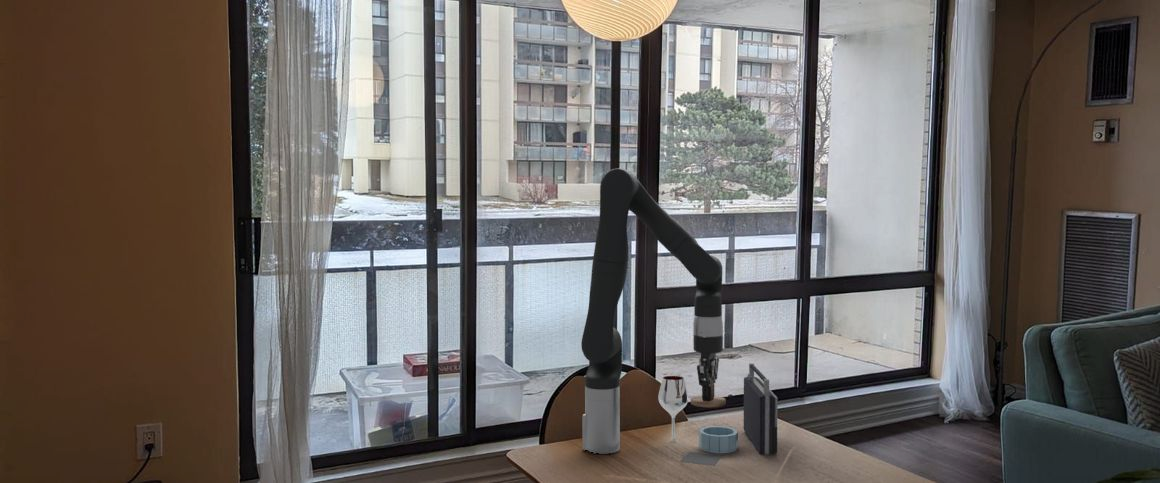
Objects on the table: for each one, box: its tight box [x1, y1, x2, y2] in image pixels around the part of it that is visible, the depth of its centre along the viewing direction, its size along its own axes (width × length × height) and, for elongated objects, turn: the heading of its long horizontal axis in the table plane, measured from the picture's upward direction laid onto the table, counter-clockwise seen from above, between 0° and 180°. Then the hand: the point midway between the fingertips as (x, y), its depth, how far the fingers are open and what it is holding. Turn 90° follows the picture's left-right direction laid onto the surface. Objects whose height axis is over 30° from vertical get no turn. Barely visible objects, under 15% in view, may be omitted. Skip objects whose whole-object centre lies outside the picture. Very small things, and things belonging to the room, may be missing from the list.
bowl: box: [698, 425, 739, 454], centre depth 227 cm, size 10×10×5 cm
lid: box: [690, 379, 727, 408], centre depth 220 cm, size 9×9×6 cm
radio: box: [743, 362, 778, 455], centre depth 233 cm, size 24×5×20 cm, turn 179°
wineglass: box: [657, 375, 689, 443], centre depth 233 cm, size 8×8×18 cm
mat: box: [679, 451, 723, 467], centre depth 218 cm, size 9×9×1 cm
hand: (708, 398), depth 220 cm, fingers closed on lid, 2 cm apart
